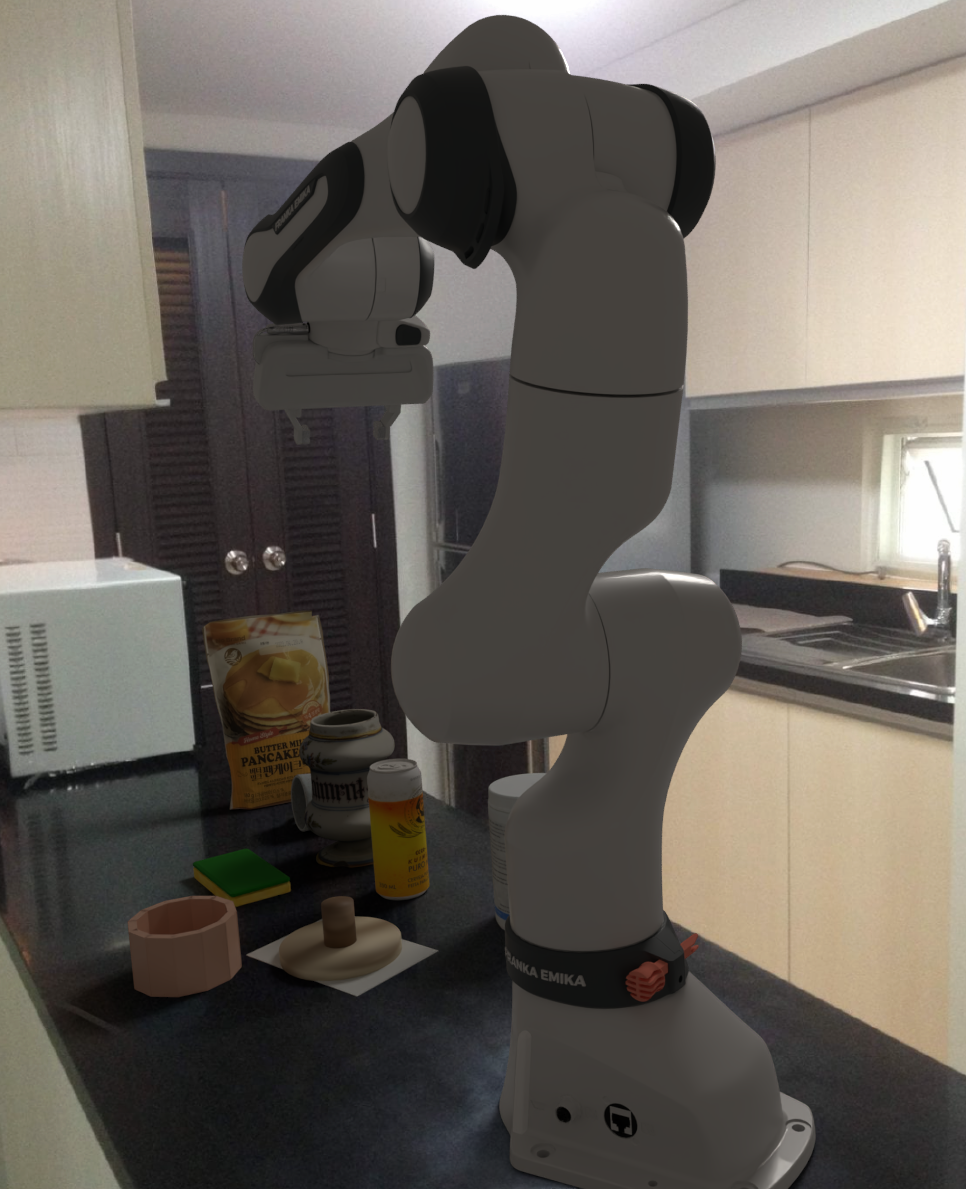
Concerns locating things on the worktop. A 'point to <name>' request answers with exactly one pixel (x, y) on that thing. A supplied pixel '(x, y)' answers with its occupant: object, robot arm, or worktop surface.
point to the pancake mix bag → (266, 698)
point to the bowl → (184, 946)
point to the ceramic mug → (301, 798)
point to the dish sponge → (241, 877)
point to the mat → (361, 984)
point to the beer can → (398, 829)
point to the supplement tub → (499, 809)
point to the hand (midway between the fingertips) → (341, 440)
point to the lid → (340, 944)
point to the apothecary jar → (343, 782)
